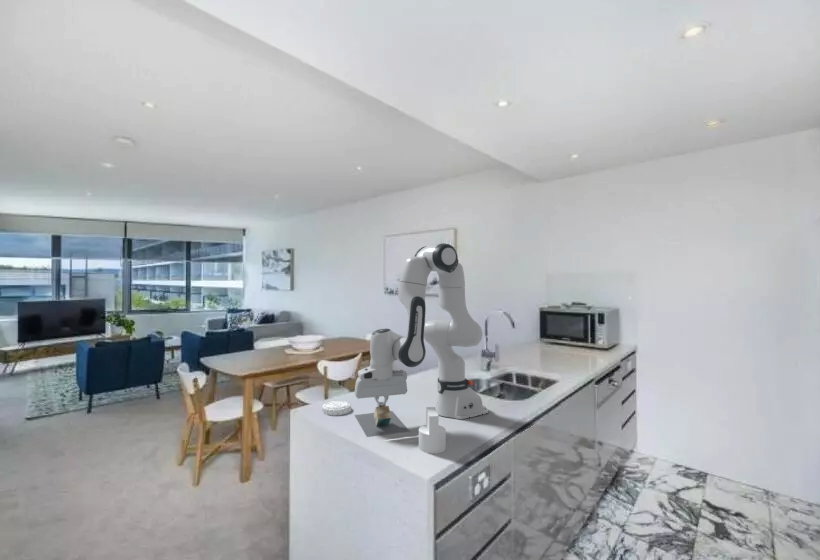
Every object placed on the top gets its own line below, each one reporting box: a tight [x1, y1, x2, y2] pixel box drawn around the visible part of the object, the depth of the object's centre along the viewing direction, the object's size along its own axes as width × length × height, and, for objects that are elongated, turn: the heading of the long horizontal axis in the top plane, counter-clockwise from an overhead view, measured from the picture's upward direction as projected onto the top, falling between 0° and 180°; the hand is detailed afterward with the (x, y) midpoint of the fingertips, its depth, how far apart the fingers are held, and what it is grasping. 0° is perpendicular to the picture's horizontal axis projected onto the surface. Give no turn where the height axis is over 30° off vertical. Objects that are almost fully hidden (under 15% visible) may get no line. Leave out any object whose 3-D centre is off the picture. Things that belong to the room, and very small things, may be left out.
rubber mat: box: [354, 410, 410, 438], centre depth 148 cm, size 16×23×1 cm
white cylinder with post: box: [418, 406, 447, 455], centre depth 128 cm, size 9×9×12 cm
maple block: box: [373, 405, 391, 426], centre depth 145 cm, size 5×5×5 cm
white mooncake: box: [321, 399, 352, 416], centre depth 162 cm, size 12×12×4 cm
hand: (381, 407), depth 147 cm, fingers closed, pressing on maple block
